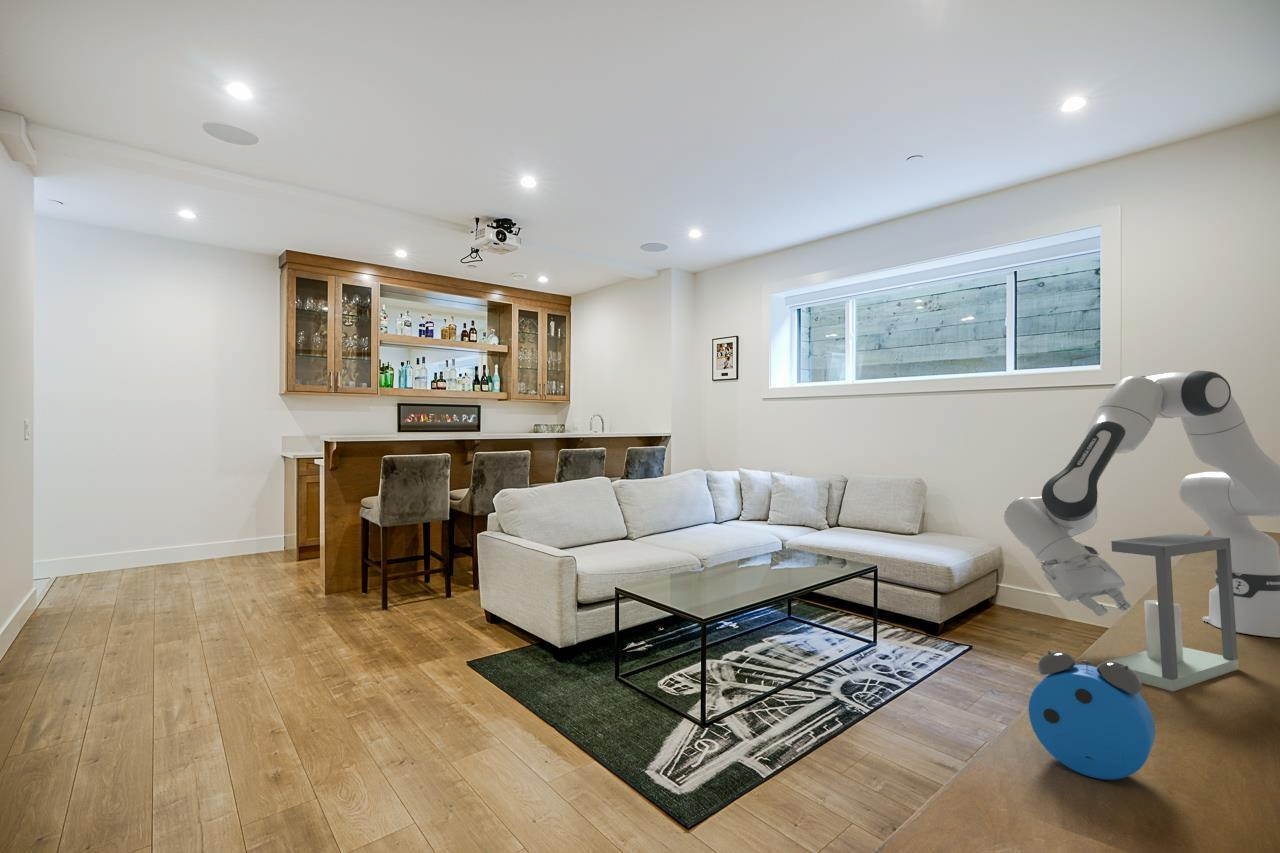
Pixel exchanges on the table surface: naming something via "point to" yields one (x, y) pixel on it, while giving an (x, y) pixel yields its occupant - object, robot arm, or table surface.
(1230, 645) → the grey frame
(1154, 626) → the white cylinder
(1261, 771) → the table surface
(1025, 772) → the table surface
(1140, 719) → the alarm clock
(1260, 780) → the table surface
